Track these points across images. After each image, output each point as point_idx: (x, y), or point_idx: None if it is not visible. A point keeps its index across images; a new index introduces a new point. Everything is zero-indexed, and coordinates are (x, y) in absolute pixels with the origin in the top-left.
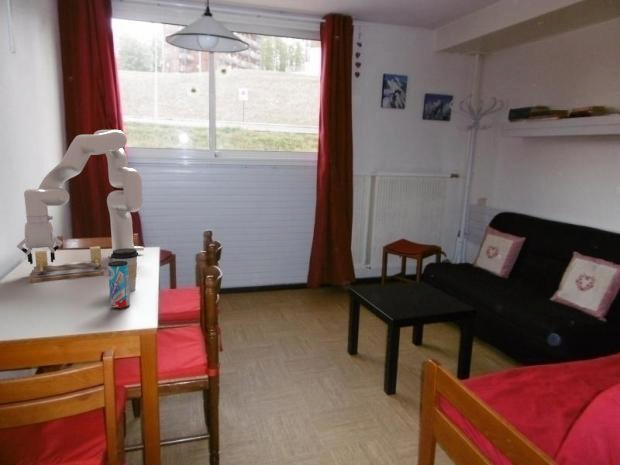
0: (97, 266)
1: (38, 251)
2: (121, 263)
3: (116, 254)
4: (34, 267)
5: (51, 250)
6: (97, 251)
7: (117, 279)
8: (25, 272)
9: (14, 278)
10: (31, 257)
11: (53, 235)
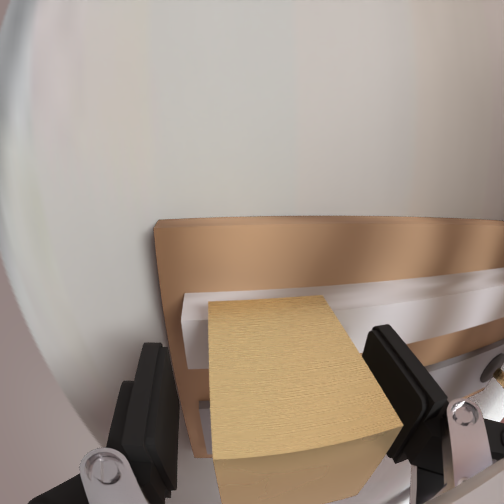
0: (497, 379)
1: (268, 472)
2: None
3: None
4: (193, 360)
5: (418, 480)
6: None
7: None
8: (100, 191)
9: (76, 345)
10: (174, 466)
11: None
